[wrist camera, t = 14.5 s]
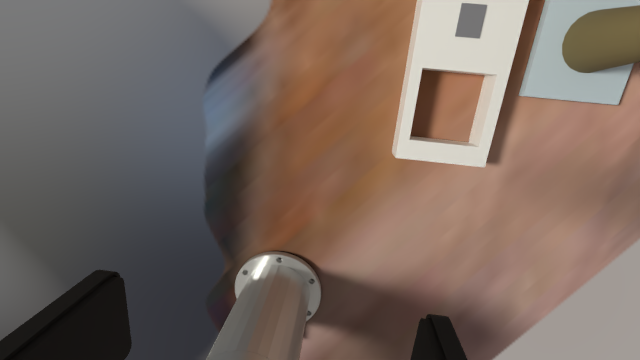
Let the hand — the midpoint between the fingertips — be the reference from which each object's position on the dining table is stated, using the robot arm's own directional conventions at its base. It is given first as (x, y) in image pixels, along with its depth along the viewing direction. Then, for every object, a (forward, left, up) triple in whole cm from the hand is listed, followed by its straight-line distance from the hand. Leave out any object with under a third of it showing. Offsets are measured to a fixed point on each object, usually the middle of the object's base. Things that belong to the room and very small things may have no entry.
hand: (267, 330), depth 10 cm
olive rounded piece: (+14, -26, -30) cm, 42 cm away
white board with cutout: (+12, -13, -30) cm, 35 cm away
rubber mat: (+14, -26, -30) cm, 42 cm away
